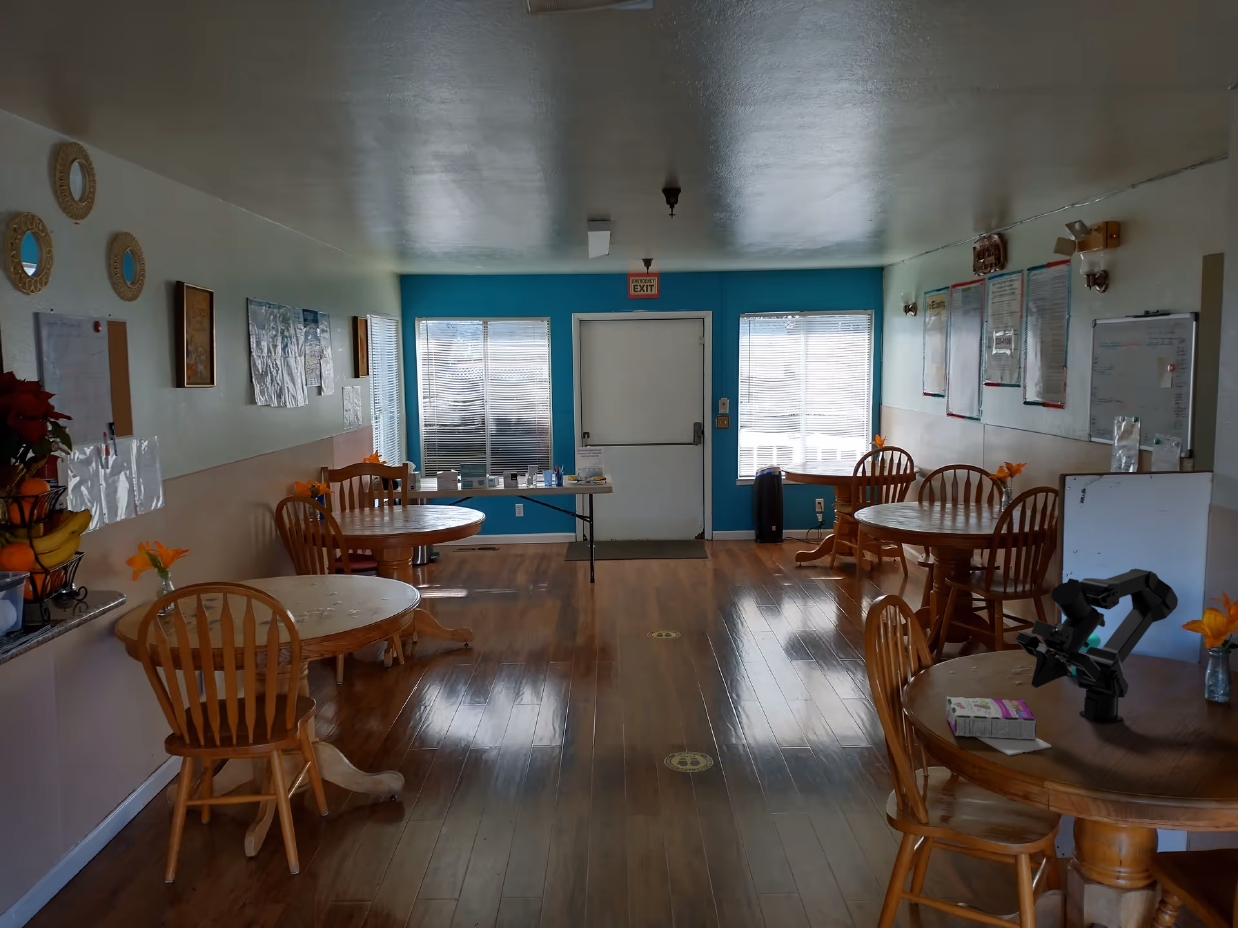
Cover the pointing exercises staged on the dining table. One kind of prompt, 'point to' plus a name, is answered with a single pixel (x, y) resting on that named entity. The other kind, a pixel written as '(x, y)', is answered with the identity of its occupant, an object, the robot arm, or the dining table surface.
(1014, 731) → the candy bar box
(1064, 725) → the dining table surface
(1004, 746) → the mat
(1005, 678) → the dining table surface
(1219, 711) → the dining table surface
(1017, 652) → the dining table surface
